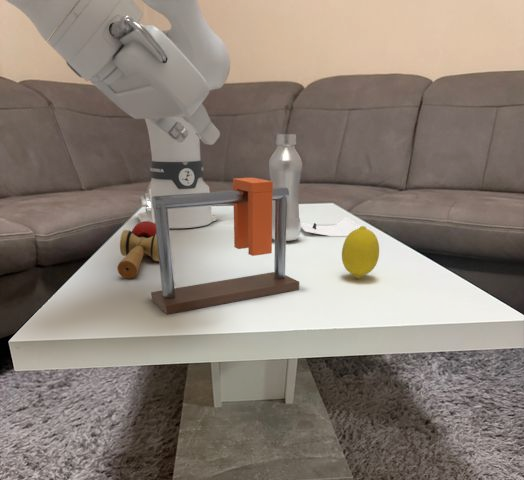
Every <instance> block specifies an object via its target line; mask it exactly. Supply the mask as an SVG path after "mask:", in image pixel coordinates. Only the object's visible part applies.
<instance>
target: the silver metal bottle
mask: <svg viewBox="0 0 524 480" xmlns="http://www.w3.org/2000/svg"><path fill="white" fill-rule="evenodd" d="M275 138H276V140H275V145H276V148H275V150H274V152H273V153H272V155H271V156H270V158H269V161H268V164H267V165H268V174H269V181H272V182H273V188H283V187H286V188H288V190H289V197H288V199H287V218H286V242H290V241H296V240H298V238H299V237H300V235H301V230H302V227H301V224H300V222H301V218H300V211H299V210H300V207H299V196H300V195H299V193H300V183H301V177H302V170H303V162H302V158H301V157H300V154H299V153H298V151H297V150H296V145H297V134H296V133H276V137H275ZM272 240H274V241H275V201H272Z"/></svg>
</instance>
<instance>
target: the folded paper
mask: <svg viewBox="0 0 524 480" xmlns="http://www.w3.org/2000/svg"><path fill="white" fill-rule="evenodd" d="M300 224H301V229H302V230H303V231H304V232H306V233H311V234H317V235H323V236H327V237H328V236H329V237H347V236H348V235H349V234H350V233H351V232H352V231H354V230H356V229H359V228H360V227H361V225H360V224H358V223H357V222H356V221H353V220H352V219H351V218H349V217H348V216H346V217H344V218H343V219H342V220H341V221H339V222H337V223H336V224H335V225H319V224H316V222H314V223H307V222H302V221H300Z"/></svg>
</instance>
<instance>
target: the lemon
mask: <svg viewBox="0 0 524 480" xmlns="http://www.w3.org/2000/svg"><path fill="white" fill-rule="evenodd" d="M360 226H361V225H360ZM379 257H380V243H379V240H378V237H377V235H376V234H375V233H374V232H373V231H372V230H370V229H368V228H367V227H366V226H364V225H362V226H361V227H359V228H358V229H356V230H354V231H352V232H351V233H350V234H349V235H348V236H345V239H344V242H343V245H342V248H341V261H342V264H343V266H344V268H345V270H346V271H347V272H348V273H350V274H351V275H353V276H354V278H355V279H361V278H362V277H363V276H364V275H367V274H369V273H371V272H372V271H373V270H375V267H376V266H377V264H378V261H379Z"/></svg>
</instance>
